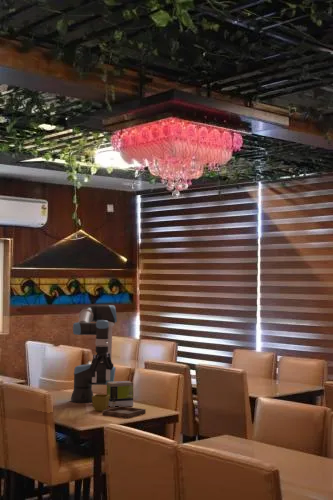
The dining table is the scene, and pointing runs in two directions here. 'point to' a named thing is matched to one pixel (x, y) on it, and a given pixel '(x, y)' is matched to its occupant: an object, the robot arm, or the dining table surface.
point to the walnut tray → (124, 412)
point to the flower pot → (100, 402)
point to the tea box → (120, 393)
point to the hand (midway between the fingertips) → (101, 381)
